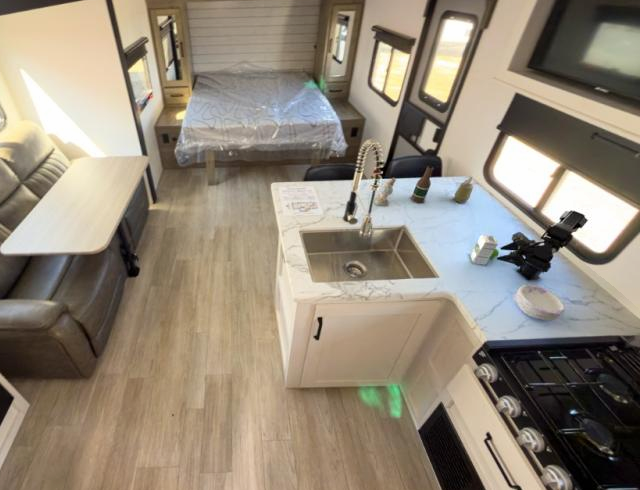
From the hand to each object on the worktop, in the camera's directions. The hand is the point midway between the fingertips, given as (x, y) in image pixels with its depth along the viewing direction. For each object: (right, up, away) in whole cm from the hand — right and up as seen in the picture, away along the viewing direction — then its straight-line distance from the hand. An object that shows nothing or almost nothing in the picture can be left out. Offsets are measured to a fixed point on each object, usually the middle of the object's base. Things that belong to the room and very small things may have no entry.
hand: (498, 253), depth 153 cm
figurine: (-35, +25, +49) cm, 65 cm away
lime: (+4, -3, +10) cm, 12 cm away
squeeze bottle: (+16, +26, +50) cm, 59 cm away
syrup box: (-4, -5, +8) cm, 11 cm away
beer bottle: (-11, +26, +51) cm, 58 cm away
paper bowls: (+2, -22, -15) cm, 27 cm away
